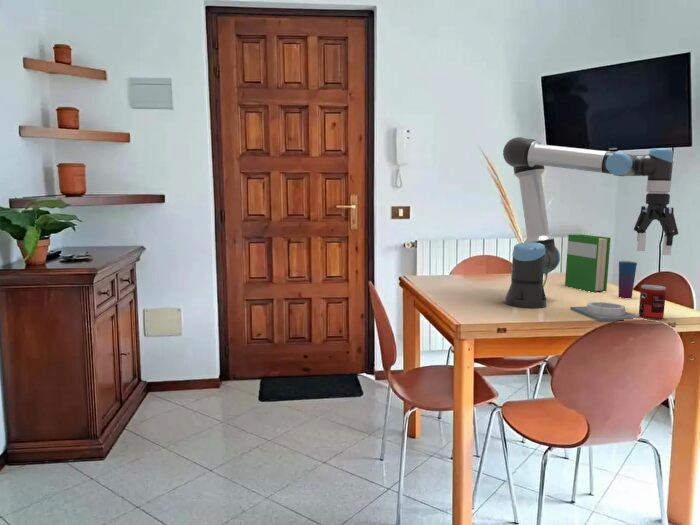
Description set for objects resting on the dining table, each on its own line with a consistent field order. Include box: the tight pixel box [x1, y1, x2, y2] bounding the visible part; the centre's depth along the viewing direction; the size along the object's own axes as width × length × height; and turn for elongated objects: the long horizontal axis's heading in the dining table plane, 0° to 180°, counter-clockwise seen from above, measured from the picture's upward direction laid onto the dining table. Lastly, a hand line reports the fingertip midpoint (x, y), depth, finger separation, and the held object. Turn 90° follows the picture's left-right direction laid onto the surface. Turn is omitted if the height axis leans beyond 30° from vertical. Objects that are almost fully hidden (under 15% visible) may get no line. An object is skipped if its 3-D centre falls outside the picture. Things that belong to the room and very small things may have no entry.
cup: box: [618, 260, 638, 299], centre depth 251 cm, size 7×7×15 cm
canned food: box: [638, 284, 667, 320], centre depth 213 cm, size 8×8×11 cm
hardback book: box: [564, 233, 611, 293], centre depth 270 cm, size 18×7×24 cm, turn 22°
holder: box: [569, 301, 643, 322], centre depth 215 cm, size 16×20×4 cm
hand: (653, 253), depth 215 cm, fingers open, 13 cm apart
